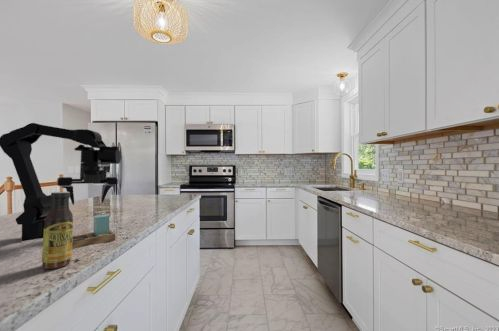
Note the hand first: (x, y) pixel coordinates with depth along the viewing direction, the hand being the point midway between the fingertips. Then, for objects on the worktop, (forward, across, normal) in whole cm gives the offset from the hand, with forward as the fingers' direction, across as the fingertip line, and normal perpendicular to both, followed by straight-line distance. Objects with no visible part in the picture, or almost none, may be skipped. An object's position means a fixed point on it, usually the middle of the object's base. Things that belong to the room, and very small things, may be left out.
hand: (88, 203), depth 89 cm
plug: (+12, +3, -10) cm, 16 cm away
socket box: (+12, 0, -10) cm, 16 cm away
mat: (+12, +2, 0) cm, 13 cm away
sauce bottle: (+13, -10, -26) cm, 31 cm away
